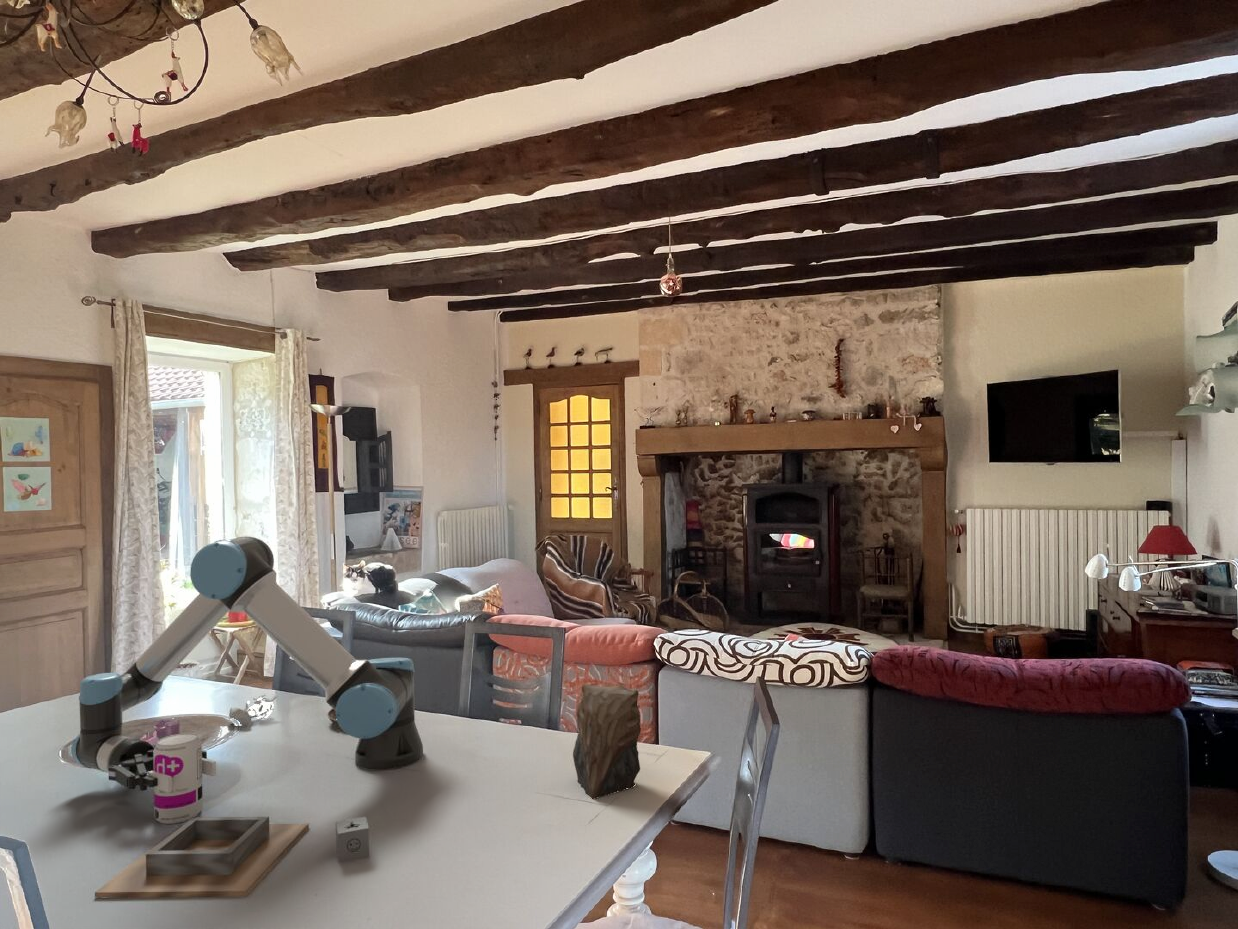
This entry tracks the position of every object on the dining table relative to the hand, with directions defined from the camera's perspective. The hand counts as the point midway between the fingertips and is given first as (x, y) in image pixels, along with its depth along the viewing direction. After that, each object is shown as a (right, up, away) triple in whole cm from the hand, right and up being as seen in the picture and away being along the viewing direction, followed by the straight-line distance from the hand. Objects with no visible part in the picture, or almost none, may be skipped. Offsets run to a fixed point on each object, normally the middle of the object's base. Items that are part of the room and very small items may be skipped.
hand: (192, 776), depth 153 cm
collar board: (+12, -9, -16) cm, 22 cm away
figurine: (-17, -10, +62) cm, 65 cm away
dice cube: (+36, -8, -15) cm, 39 cm away
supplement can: (-4, -9, +2) cm, 10 cm away
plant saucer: (+14, -9, +62) cm, 64 cm away
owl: (+78, -7, +13) cm, 80 cm away
